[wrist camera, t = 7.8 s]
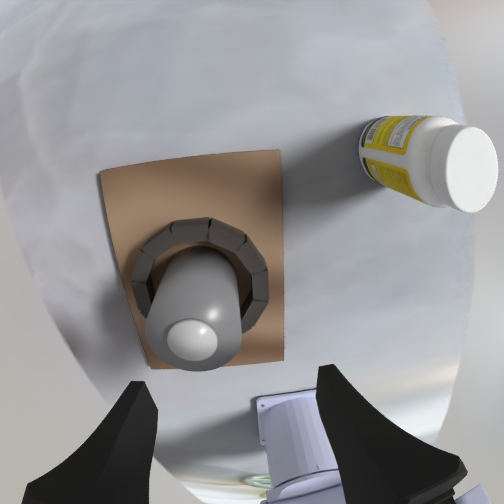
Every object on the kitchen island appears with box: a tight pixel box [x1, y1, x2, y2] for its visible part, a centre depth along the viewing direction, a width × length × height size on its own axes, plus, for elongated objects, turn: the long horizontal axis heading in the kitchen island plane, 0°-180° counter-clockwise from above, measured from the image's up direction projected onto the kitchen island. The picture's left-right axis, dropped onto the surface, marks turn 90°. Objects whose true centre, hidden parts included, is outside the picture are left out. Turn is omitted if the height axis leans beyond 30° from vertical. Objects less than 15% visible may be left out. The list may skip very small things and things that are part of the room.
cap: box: [145, 246, 242, 371], centre depth 16 cm, size 5×5×6 cm
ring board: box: [100, 150, 284, 369], centre depth 19 cm, size 16×11×2 cm
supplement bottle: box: [359, 116, 498, 213], centre depth 14 cm, size 5×5×8 cm
